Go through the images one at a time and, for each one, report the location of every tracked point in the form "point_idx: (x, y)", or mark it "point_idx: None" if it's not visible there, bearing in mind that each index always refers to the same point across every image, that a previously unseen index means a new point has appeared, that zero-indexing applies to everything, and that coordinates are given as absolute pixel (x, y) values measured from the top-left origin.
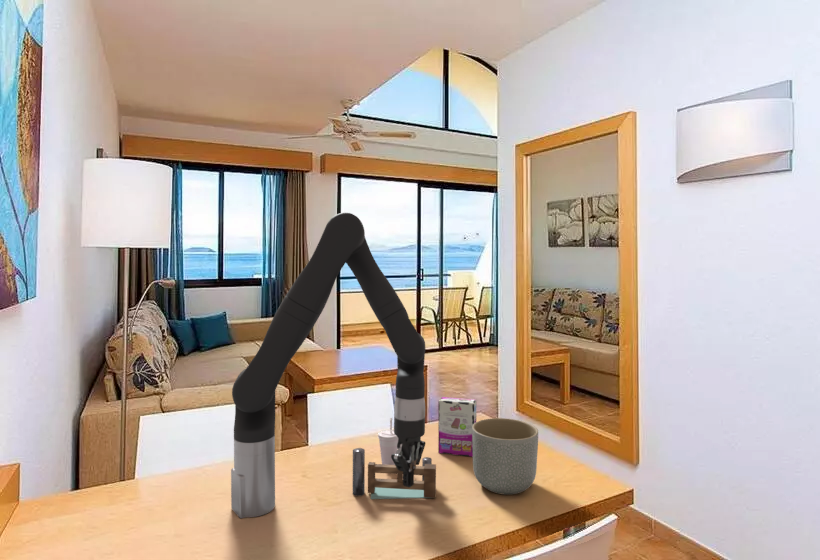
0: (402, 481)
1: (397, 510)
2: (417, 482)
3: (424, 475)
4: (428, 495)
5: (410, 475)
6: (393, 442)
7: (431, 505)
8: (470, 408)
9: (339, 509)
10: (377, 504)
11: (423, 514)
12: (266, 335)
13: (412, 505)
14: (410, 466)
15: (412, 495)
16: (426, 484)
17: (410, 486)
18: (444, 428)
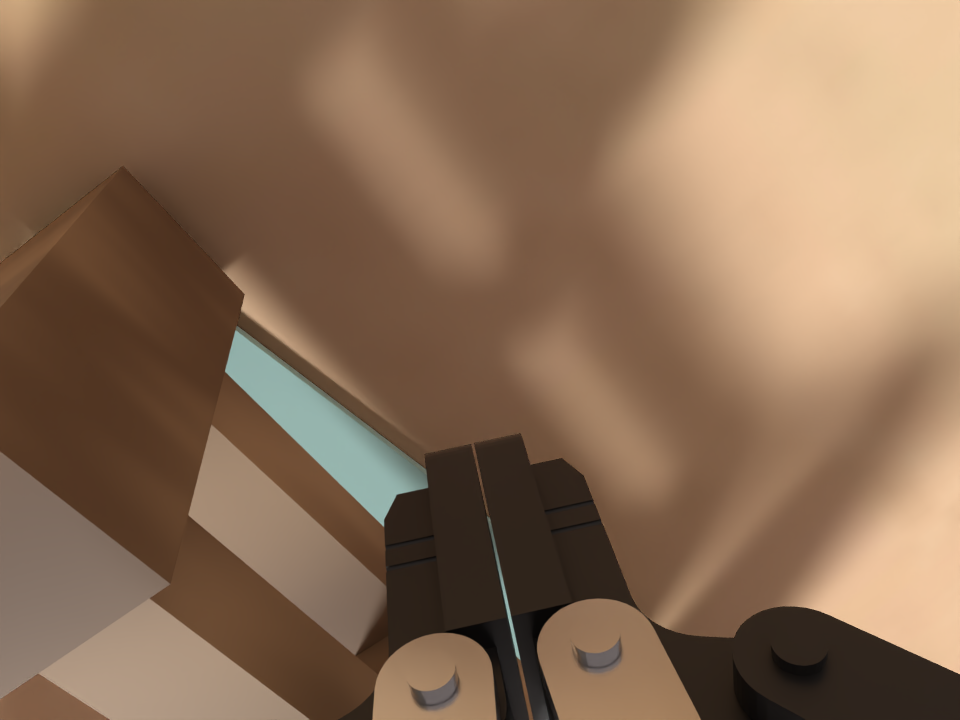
0: (385, 633)
1: (674, 321)
2: (241, 496)
3: (187, 473)
4: (191, 255)
5: (556, 566)
6: None
7: (285, 96)
8: None
9: (936, 653)
10: (690, 533)
11: (562, 12)
12: None
13: (468, 280)
14: (670, 715)
15: (294, 434)
16: (188, 353)
17: (520, 436)
18: None
